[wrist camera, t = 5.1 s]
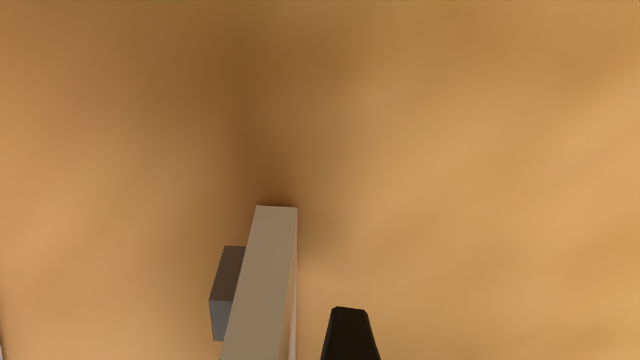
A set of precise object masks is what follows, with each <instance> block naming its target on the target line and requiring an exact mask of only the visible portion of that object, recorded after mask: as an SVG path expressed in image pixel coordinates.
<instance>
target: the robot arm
mask: <svg viewBox="0 0 640 360" xmlns="http://www.w3.org/2000/svg"><path fill="white" fill-rule="evenodd" d="M0 360H3V357H2V351H1V346H0ZM320 360H381V358H380V355H379V353H378V350H377V347H376V343H375V340H374V337H373V333H372V330H371V326H370V322H369V318H368V314H367V313H366V312H365V310H361V309H353V308H346V307H339V306H337V307H335V308H333V309H332V311H331V315H330V320H329V324H328V328H327V332H326V337H325V341H324V345H323V349H322V354H321V359H320Z"/></svg>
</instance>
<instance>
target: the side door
mask: <svg viewBox="0 0 640 360" xmlns="http://www.w3.org/2000/svg"><path fill="white" fill-rule="evenodd" d="M297 213H298V208H297V207H279V206H260V205H256V209H255V213H254V217H253V221H252V225H251V229H250V234H249V238H248V242H247V246H246V247H239V246H225V247H224V250H223V253H222V257H221V260H220V264H219V267H218V270H217V274H216V277H215V281H214V284H213V287H212V291H211V294H210V298H209V306H210V315H211V323H212V331H213V339H214V340H215V341H223V345H222V350H221V354H220V358H219V360H296V290H297Z"/></svg>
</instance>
